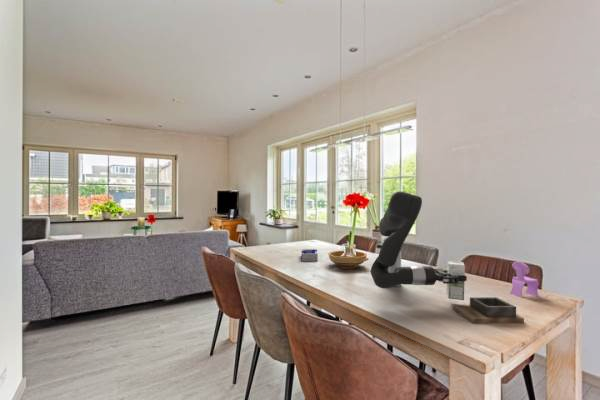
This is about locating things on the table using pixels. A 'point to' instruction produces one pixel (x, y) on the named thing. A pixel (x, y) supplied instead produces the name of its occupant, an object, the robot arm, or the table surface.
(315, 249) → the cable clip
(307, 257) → the desk tidy
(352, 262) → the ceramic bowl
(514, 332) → the table surface
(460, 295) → the syrup box
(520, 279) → the toy chair
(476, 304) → the socket block
